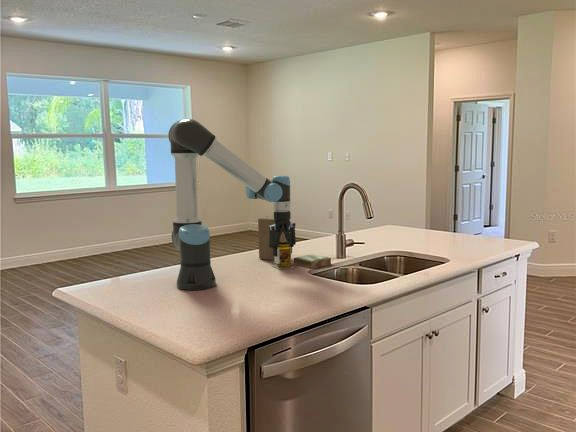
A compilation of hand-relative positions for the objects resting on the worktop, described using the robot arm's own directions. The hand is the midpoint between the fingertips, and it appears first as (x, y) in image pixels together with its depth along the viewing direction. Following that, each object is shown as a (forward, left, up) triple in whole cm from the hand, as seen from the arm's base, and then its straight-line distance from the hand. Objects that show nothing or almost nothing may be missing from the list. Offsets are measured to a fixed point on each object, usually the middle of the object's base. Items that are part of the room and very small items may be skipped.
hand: (282, 262), depth 230 cm
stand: (+13, -5, -2) cm, 14 cm away
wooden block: (+8, +18, -3) cm, 20 cm away
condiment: (0, 0, -3) cm, 3 cm away
